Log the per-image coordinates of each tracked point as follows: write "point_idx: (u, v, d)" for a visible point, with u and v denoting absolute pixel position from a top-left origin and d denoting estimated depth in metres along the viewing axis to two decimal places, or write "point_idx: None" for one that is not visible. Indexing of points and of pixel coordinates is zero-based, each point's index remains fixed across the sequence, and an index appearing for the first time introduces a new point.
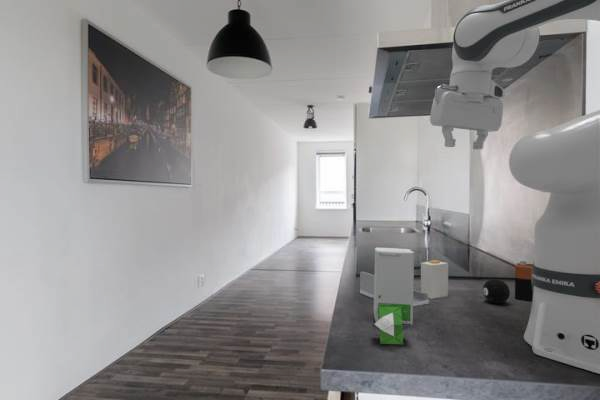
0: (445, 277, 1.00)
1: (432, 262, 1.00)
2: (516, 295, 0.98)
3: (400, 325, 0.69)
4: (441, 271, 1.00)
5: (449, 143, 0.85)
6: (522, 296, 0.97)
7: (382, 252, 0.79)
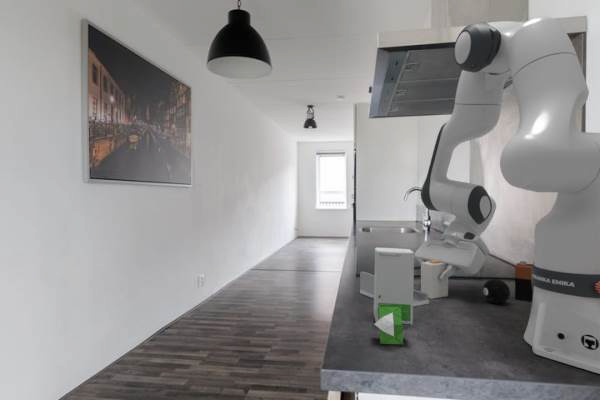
0: None
1: (432, 262, 1.00)
2: (516, 295, 0.98)
3: (400, 325, 0.69)
4: (441, 271, 1.00)
5: None
6: (522, 296, 0.97)
7: (382, 252, 0.79)
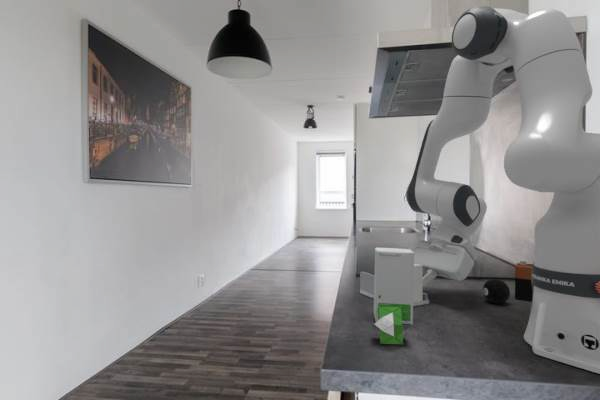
0: (419, 280, 0.92)
1: None
2: (516, 295, 0.98)
3: (400, 325, 0.69)
4: (414, 274, 0.91)
5: None
6: (522, 296, 0.97)
7: (382, 252, 0.79)
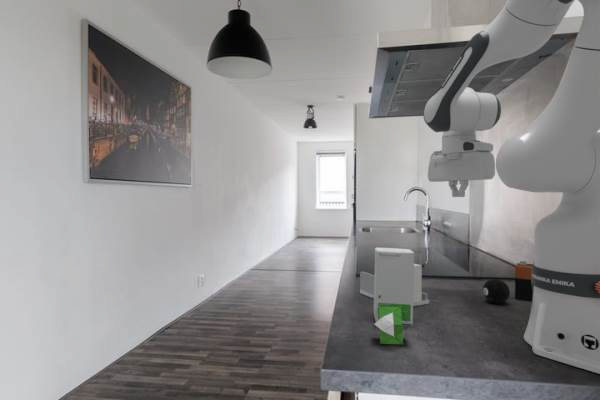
0: (418, 280, 0.92)
1: None
2: (516, 295, 0.98)
3: (400, 325, 0.69)
4: None
5: None
6: (522, 296, 0.97)
7: (382, 252, 0.79)
